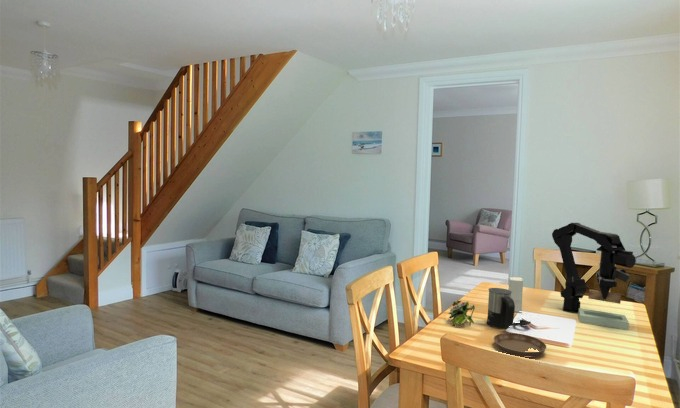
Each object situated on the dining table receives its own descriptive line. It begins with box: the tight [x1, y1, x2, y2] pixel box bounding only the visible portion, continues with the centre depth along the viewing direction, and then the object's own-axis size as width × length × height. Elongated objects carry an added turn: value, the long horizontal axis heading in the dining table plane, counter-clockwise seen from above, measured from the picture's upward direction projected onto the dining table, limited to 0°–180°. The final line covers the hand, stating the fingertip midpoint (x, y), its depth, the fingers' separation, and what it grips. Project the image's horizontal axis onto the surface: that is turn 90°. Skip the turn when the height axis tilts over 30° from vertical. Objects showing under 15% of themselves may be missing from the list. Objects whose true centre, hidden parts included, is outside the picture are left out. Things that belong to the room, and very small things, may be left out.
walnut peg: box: [587, 288, 622, 305], centre depth 196 cm, size 12×4×4 cm, turn 60°
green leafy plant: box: [448, 300, 476, 326], centre depth 186 cm, size 11×11×12 cm
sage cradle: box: [577, 307, 630, 331], centre depth 197 cm, size 18×12×3 cm, turn 65°
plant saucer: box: [493, 332, 547, 358], centre depth 162 cm, size 18×18×3 cm
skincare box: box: [508, 276, 524, 313], centre depth 209 cm, size 8×6×15 cm
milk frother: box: [486, 287, 532, 329], centre depth 186 cm, size 14×16×15 cm
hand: (604, 297), depth 196 cm, fingers closed on walnut peg, 4 cm apart
